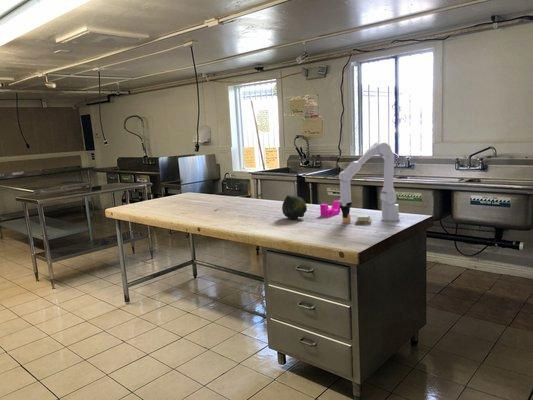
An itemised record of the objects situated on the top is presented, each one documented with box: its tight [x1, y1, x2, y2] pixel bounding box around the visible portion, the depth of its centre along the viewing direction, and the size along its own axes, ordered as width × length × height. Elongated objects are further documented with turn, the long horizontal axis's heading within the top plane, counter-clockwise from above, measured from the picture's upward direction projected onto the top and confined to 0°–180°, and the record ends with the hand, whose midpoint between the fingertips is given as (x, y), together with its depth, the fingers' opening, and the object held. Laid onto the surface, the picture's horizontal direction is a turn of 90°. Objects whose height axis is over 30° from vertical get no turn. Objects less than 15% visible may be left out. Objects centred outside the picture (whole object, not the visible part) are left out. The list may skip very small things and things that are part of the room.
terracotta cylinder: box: [341, 213, 352, 225], centre depth 237 cm, size 4×4×4 cm
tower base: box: [355, 218, 372, 226], centre depth 234 cm, size 8×8×2 cm
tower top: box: [356, 214, 371, 221], centre depth 234 cm, size 6×6×2 cm
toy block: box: [319, 200, 341, 218], centre depth 261 cm, size 15×6×8 cm, turn 133°
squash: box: [281, 195, 308, 221], centre depth 255 cm, size 14×15×15 cm
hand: (346, 216), depth 237 cm, fingers open, 7 cm apart
